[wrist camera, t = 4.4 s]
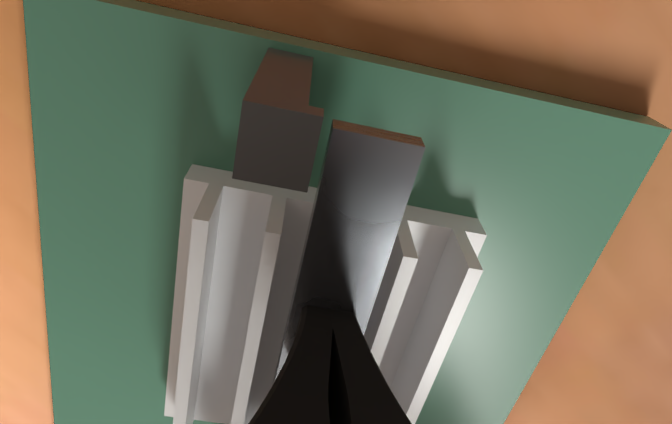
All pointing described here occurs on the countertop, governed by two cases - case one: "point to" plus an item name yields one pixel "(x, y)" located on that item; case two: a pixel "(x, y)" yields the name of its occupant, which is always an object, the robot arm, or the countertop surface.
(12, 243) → the countertop surface
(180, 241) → the heatsink board
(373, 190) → the long grey plank
